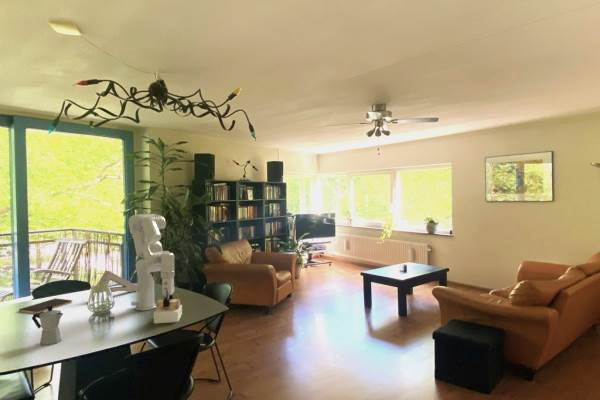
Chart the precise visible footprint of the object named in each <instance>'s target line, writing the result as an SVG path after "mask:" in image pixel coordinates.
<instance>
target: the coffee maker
mask: <svg viewBox="0 0 600 400" xmlns="http://www.w3.org/2000/svg"><path fill="white" fill-rule="evenodd" d="M47 308H48V311H45V312H44V311H41V312H40V313H36V314H34V313H33V315H32V317H31V319H32V321H33V323H34V324H35V326H36V327H37V328H38V329H42V331H41V337H40V343H39V344H40V346H42V347H44V346H49V347H50V346H53V345H56V344H59V343H60V342H61V341H62V337H61V332H60V328H59V325H60V320H61V318H62V316H63V315H64V313H62V311H61V310H57V309H52V308H53V305H50V306H47ZM38 319H39V321H38Z"/></svg>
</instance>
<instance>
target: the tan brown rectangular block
mask: <svg viewBox="0 0 600 400" xmlns="http://www.w3.org/2000/svg"><path fill="white" fill-rule="evenodd" d="M155 303H156V308H155V309H156V310H155V311H160V310H178V309H179V307H180V305H181V299H180V298H175V299H172V300H169V307H163V299H158V300H157V301H155Z"/></svg>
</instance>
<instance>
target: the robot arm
mask: <svg viewBox="0 0 600 400" xmlns="http://www.w3.org/2000/svg"><path fill="white" fill-rule="evenodd" d="M166 226H167V221H166V218H164V216H162V215H160V214H157V213H140V214H133V215H131V216H130V217H129V218H128V228H129V231H130V233H131V235H132V237H133V243H134V248H135V252H136V253H135V254H136V256H137V257H141V258H140V259H138V260H136V262H135V270H136V274H137V286H138V291H137V301H131V306H135V310H136V311H143V312H144V311H150V310H153V309H156V302H155V278H154V277H153V276H152V274H151V273H156V272H160V278H161V279H162V282H161V283H162V285H161V290H162V291H161V294H162V296H163V297H162V300H163V307H169V300H172V299H173V298H174V295H173V293H174V292H175V281H174V280H175V278H174V277H175V274H176V273H175V254H174V253H173V252H170V251H169V250H163V244H162V243H161V242H160V240H161V239H162V234H161V231H160V230H164V229H165V228H166ZM143 257H144V258H143Z"/></svg>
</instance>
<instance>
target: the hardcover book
mask: <svg viewBox="0 0 600 400" xmlns="http://www.w3.org/2000/svg"><path fill="white" fill-rule="evenodd" d="M70 304H73V300H71V299H64V298H53V299H49V300H46V301H42V302H38V303H36V304H31V305H29V306H26V307H22V308H19V309H18V312H20V313H26V314H27V313H28V314H33V315H34V314H36V313H40V312H41V311H44V312H46V311H48V308H47V306H50V305H53V308H52V310H55V309H57V308H60V307H63V306H66V305H67V306H68V305H70Z"/></svg>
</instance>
